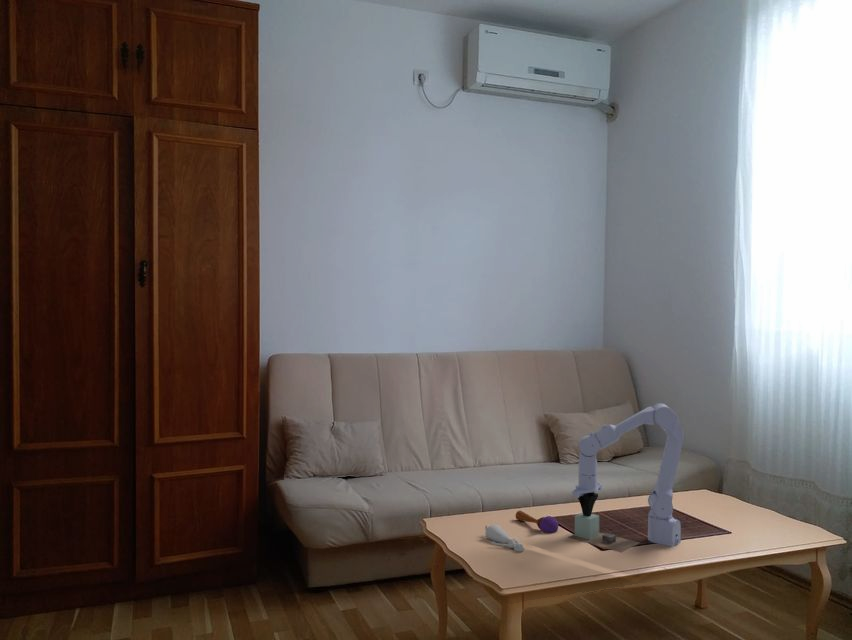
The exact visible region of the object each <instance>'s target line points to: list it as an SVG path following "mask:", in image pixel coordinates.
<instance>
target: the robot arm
mask: <svg viewBox="0 0 852 640" xmlns="http://www.w3.org/2000/svg"><path fill="white" fill-rule="evenodd" d="M654 422H655V423H656V424H657V425H658V426H659V427H660V428H661V429H662V430H663V431H664V433H665V434H666V439H665V445H664V449H663V454H662V456H661V457H662V458H661V462H660V466H659V470H658V475H657V480H656V483H655V485H654V486H653V490H652V492H651V493H650V494H649V496H648V499H647V503H648V505H649V507H650V510H649V511H648V513H647V515H648V518H647V519H648V520H647V521H648V522H647V523H648V524H647V540H648V541H649V542H651V543H654V544H659V545H663V546H668V547H672V548H673V547H675V546H677V545H679V544H680V543H681V540H682V537H681V535H682V534H681V533H682V525H681V521H680V520H679V519H675V518H674V517H673V513H674V506H673V499H674V497H673V496H674V495H673V494H674V493H673V487H674V484H675V479H676V475H677V470H678V467H679V466H678V465H679V462H680V457H681V453H682V452H681V451H682V449H683V444H684V439H685V431H684V429H683V427H682V424H681V422H680V417H679V415H678V414H676V412H675V411H674V410H673V409H672V408H671V407H669V406H668V405H667V404H665V403H663V402H658V403H655V404H654V405H652V406H646V408H644V409H642V410H640V411H638V412H637V413H635V414H633V415H632V416H630V417H627V418H626V419H624V420H623V421H621V422H619V423H617V424H616V425H615V424H610V423H609V424H605V423H604V424H603V425H602V428H600V429H598V430H595V431H594V432H593V431H591V432H589V433H588V435H584V436H582V437H581V438H580V439H579V440H578V444H577V445H578V448H579V454H578V457H579V458H578V484H576V485H575V489H574V490H572V491H571V492H572V498H575V499H578V502H579V504H580V508H581V511H582V512H581V513H583V515H584V516H588V517H589V516H591V514H593V513H592V512H593V509H594V506H595V504H596V501H597V499H598V498H599V494H598V493H596V492H597V491H602V490H603V484H602V483H598V482H597V479H598V460H597V454H598V452H599V450H603V449H605V448H606V447H608V446H611V445H612V444H614V443H616V442H618V441H619V440H620V438H621V435H623V434H625V433H627V432H629V431H632V430H633V429H636V428H638V427H640V426H642V425H650V426H655V423H654Z"/></svg>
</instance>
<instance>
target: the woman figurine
mask: <svg viewBox="0 0 852 640" xmlns="http://www.w3.org/2000/svg"><path fill="white" fill-rule="evenodd" d="M484 530H485V537H486V538H487V539H489V540H491V541H490V544H491V545H494V546H495V545H496V546H501V547H507V548H510V549H514V551H515V552H518V553H521V552H523V551H524V550H525V547H524V544H523V543H520V541H521V539H522V538H521V537H522V536H518V540H517V539H516V538H513V539H512V538H511V537H510V535H509V534H508V533H507V532H506V531H505V530H504V528H502V526H500V525H498V524H491V525H489V526H487V525H486V526H485V529H484Z"/></svg>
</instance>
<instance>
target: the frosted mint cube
mask: <svg viewBox="0 0 852 640" xmlns="http://www.w3.org/2000/svg"><path fill="white" fill-rule="evenodd" d="M599 532H600V515H599V514H594V513H591V516H589V517H588V516H584V515H583V512H580V513H577V514H575V515H574V534H575V536H578V537H582V538H586V539H589V540H590V539H593V538H595V537H597V536H599Z"/></svg>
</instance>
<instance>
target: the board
mask: <svg viewBox="0 0 852 640" xmlns="http://www.w3.org/2000/svg"><path fill="white" fill-rule="evenodd" d="M567 538H568V539H572V540H575V541H578V542H582V543H586V544H589V545H593V546H596V547H600V548H604V549H607V550H610V551H614V552H617V553H623V552H625V551H627V550H630V549H631V548H633V547H635V546H637V545H639V544H641V542H638V541H635V540H630V539H627V538H623V537H620V536H619V537H618V536H617V535H615V534H612V533H608V532H606V533H604V532H601V531H599V536H597V537H595V538H593V539H590V540H589V539H586V538H582V537H578V536H575V533H573V534H571V535H569V536H567Z"/></svg>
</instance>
